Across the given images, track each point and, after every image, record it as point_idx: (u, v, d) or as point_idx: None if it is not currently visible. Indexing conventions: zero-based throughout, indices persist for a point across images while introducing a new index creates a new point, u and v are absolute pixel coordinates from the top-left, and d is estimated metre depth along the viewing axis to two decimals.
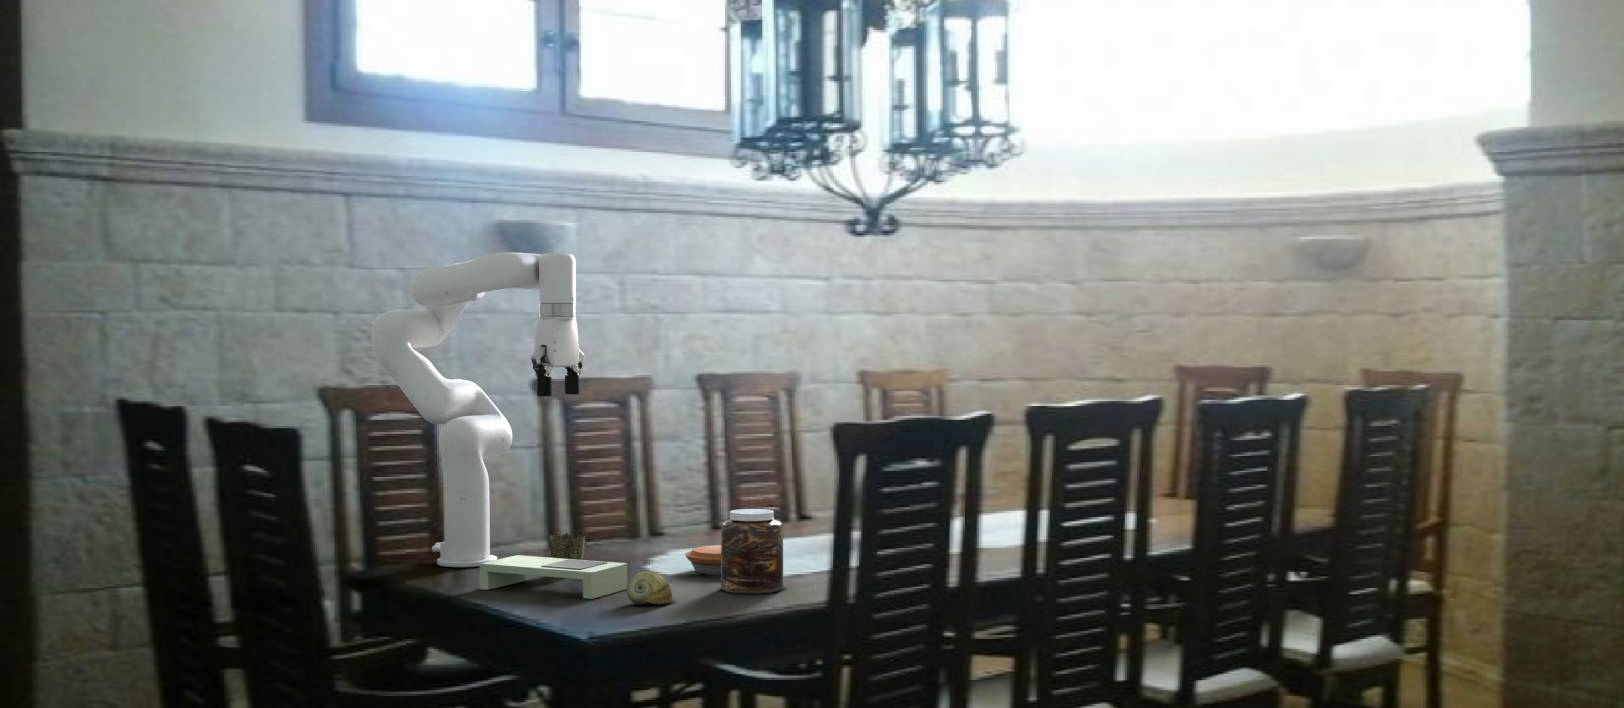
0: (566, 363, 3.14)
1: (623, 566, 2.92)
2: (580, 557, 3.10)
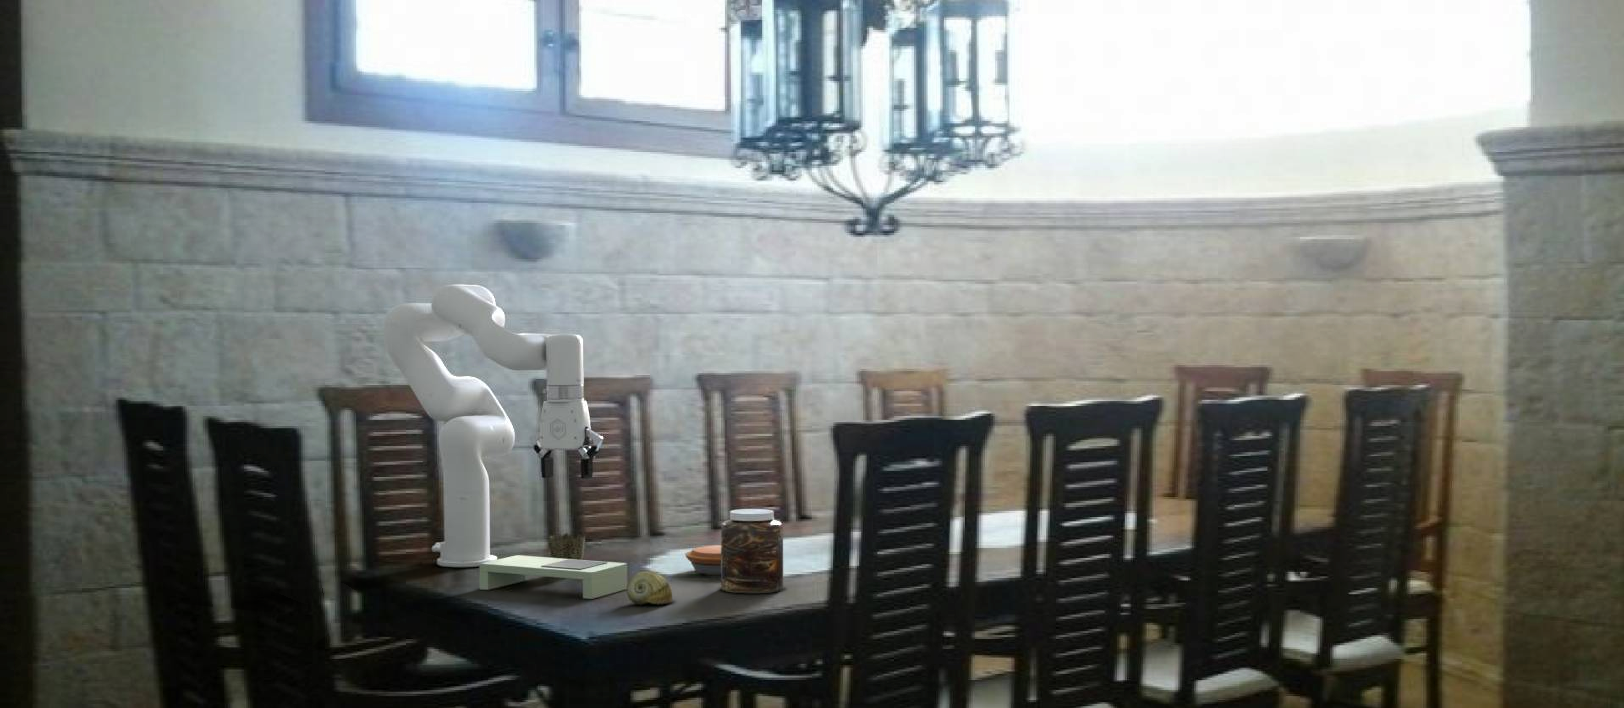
0: None
1: (623, 566, 2.92)
2: (580, 557, 3.10)
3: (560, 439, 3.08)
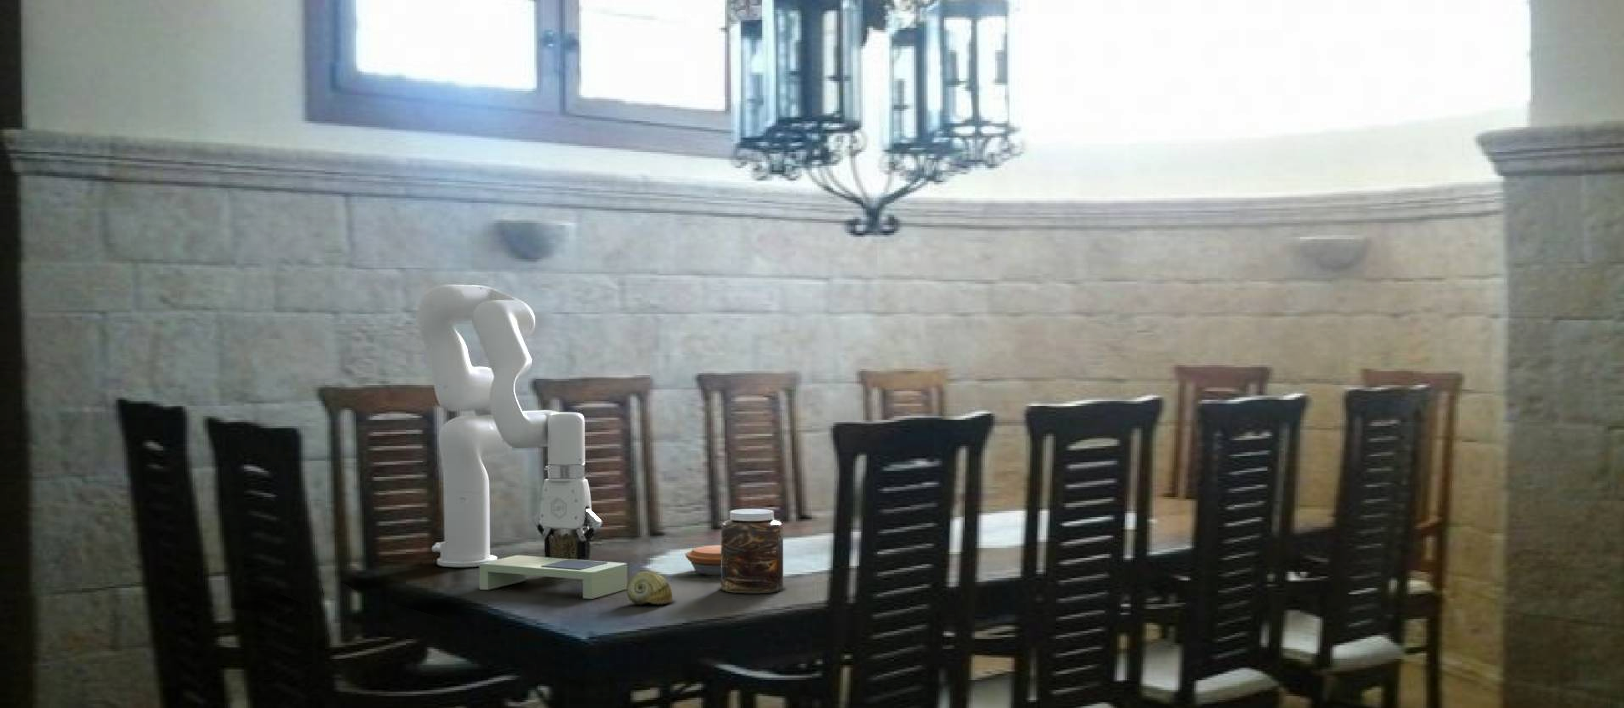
0: None
1: (623, 566, 2.92)
2: None
3: (561, 518, 3.08)
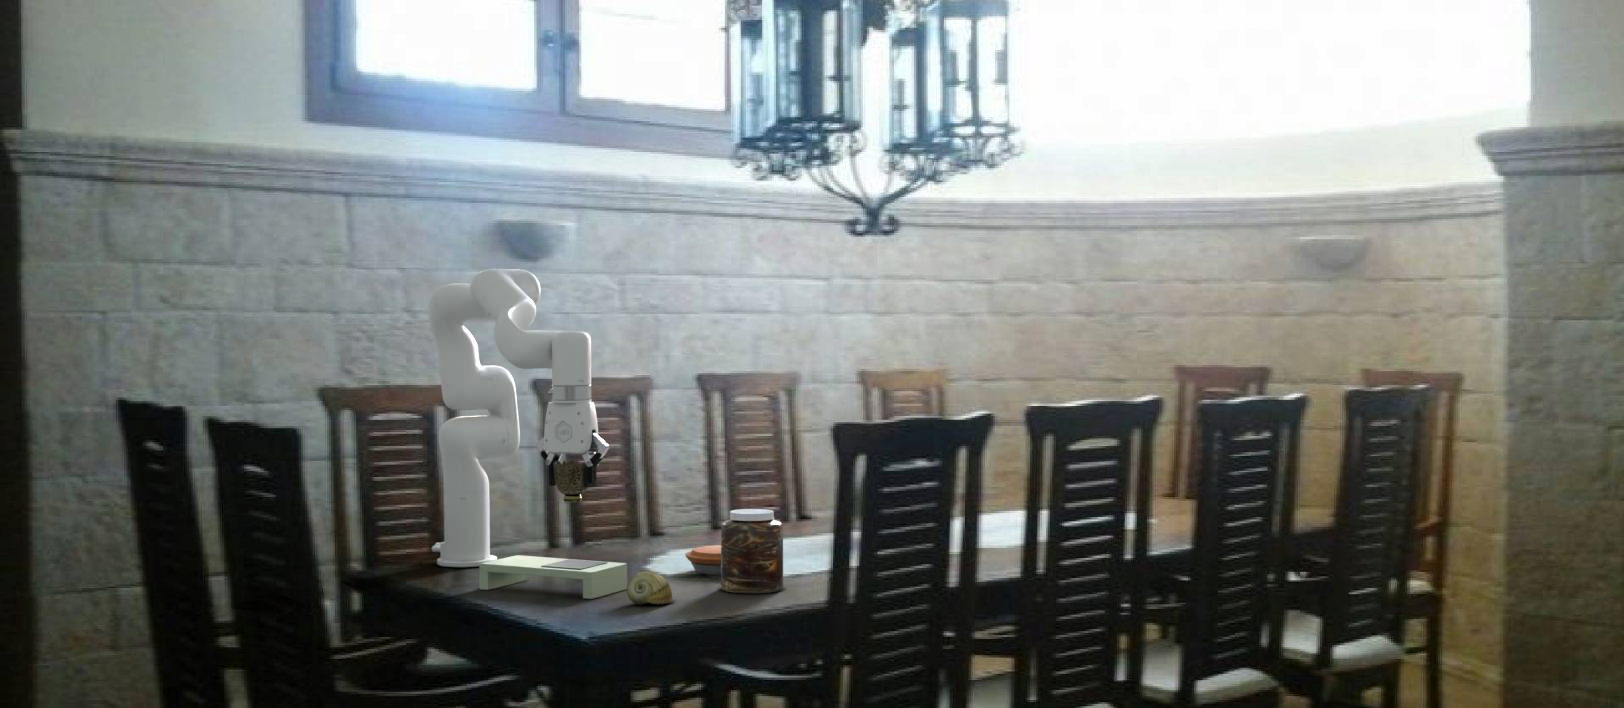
0: None
1: (623, 566, 2.92)
2: None
3: (566, 442, 2.92)
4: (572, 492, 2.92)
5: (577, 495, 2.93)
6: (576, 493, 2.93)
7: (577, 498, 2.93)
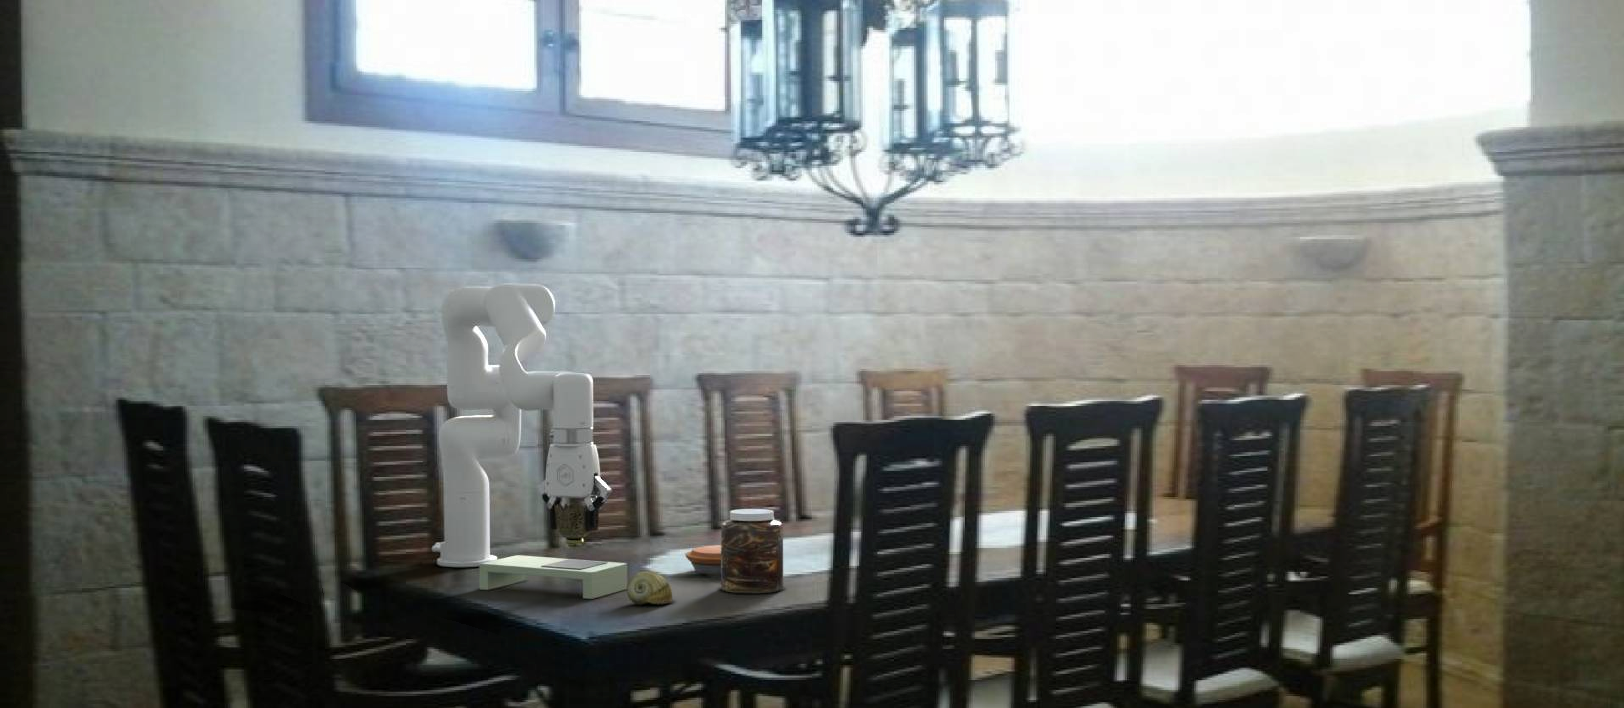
0: None
1: (623, 566, 2.92)
2: None
3: (567, 486, 2.88)
4: (574, 536, 2.88)
5: (579, 539, 2.90)
6: (578, 537, 2.89)
7: (579, 542, 2.89)
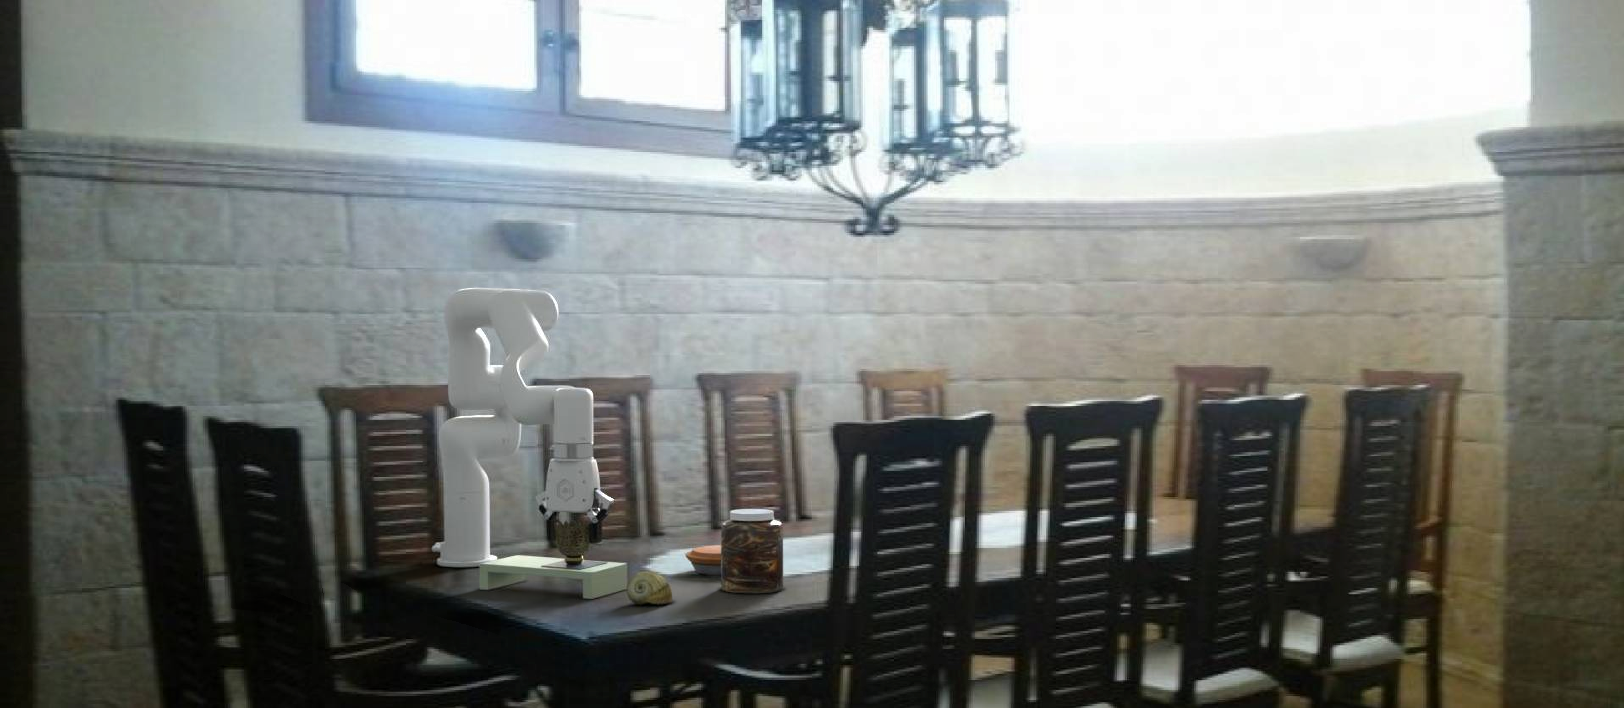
0: None
1: (623, 566, 2.92)
2: (588, 545, 2.90)
3: (567, 501, 2.88)
4: (574, 554, 2.88)
5: (579, 557, 2.90)
6: (578, 555, 2.89)
7: (579, 560, 2.90)
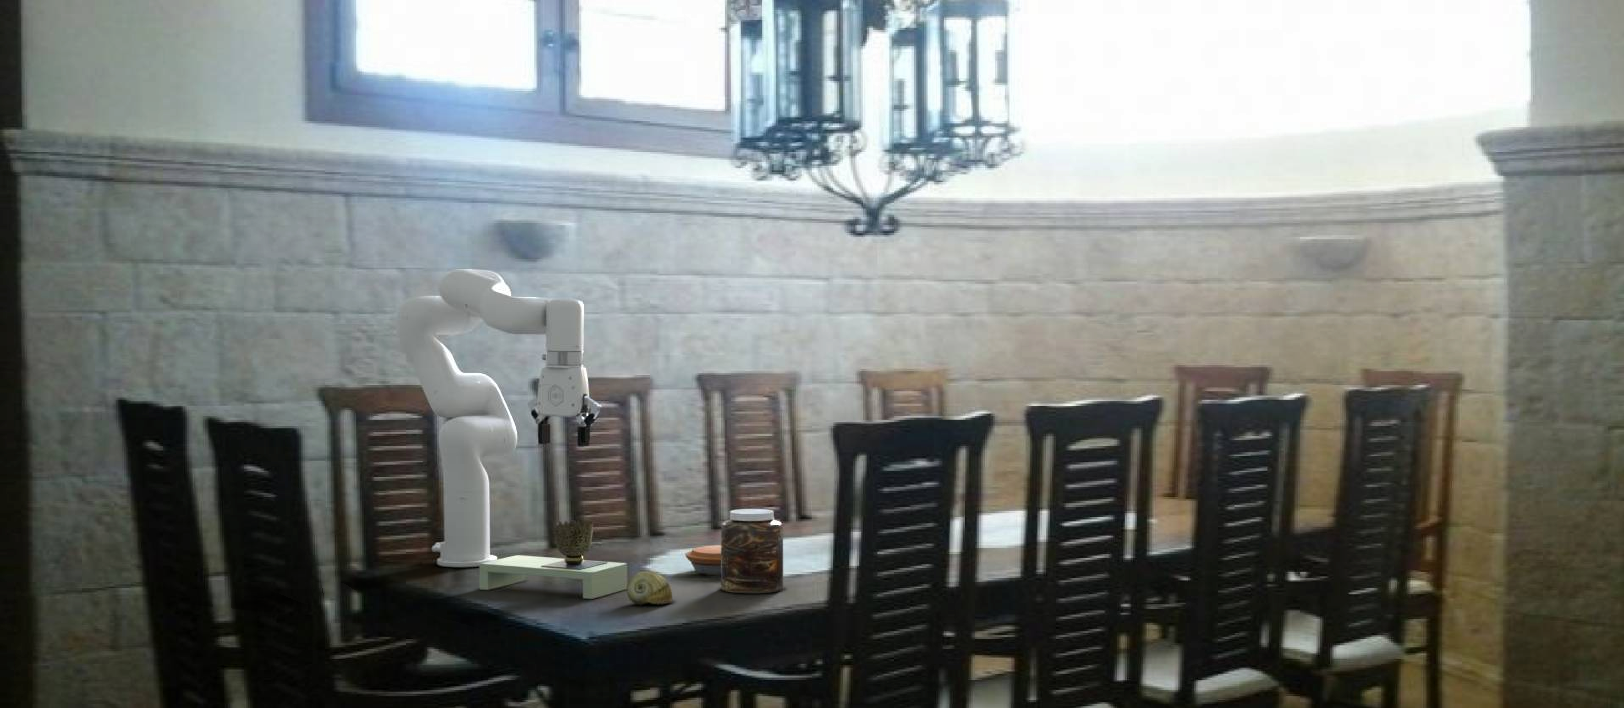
0: None
1: (623, 566, 2.92)
2: (588, 545, 2.90)
3: (557, 406, 3.04)
4: (574, 554, 2.88)
5: (579, 557, 2.90)
6: (578, 555, 2.89)
7: (579, 560, 2.90)
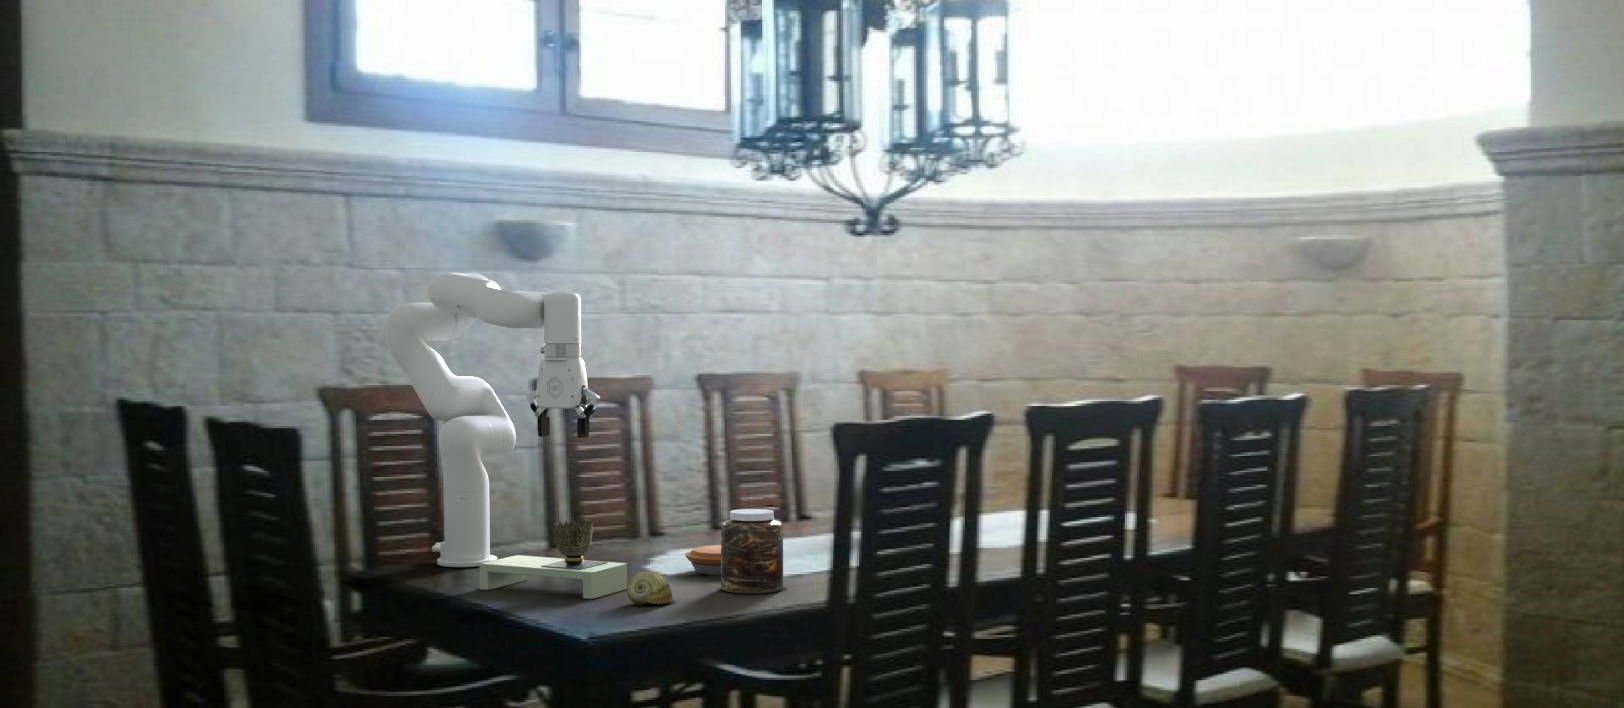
0: None
1: (623, 566, 2.92)
2: (588, 545, 2.90)
3: (557, 397, 3.07)
4: (573, 554, 2.88)
5: (579, 557, 2.90)
6: (578, 555, 2.89)
7: (579, 560, 2.90)
